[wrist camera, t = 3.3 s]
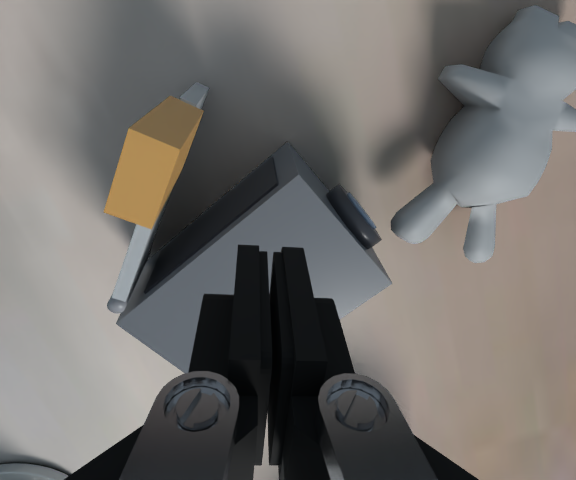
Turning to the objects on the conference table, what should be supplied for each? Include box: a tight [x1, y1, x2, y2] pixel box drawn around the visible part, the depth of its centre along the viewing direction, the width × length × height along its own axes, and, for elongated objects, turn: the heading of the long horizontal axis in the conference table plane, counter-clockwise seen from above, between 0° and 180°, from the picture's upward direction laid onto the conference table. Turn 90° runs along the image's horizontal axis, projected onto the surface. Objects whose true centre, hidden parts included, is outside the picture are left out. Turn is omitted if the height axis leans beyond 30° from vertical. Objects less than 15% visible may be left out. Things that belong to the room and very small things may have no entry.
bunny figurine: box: [391, 5, 576, 263], centre depth 26 cm, size 10×5×15 cm
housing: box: [116, 142, 392, 373], centre depth 26 cm, size 15×9×8 cm, turn 129°
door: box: [104, 82, 209, 313], centre depth 21 cm, size 13×2×14 cm, turn 154°
